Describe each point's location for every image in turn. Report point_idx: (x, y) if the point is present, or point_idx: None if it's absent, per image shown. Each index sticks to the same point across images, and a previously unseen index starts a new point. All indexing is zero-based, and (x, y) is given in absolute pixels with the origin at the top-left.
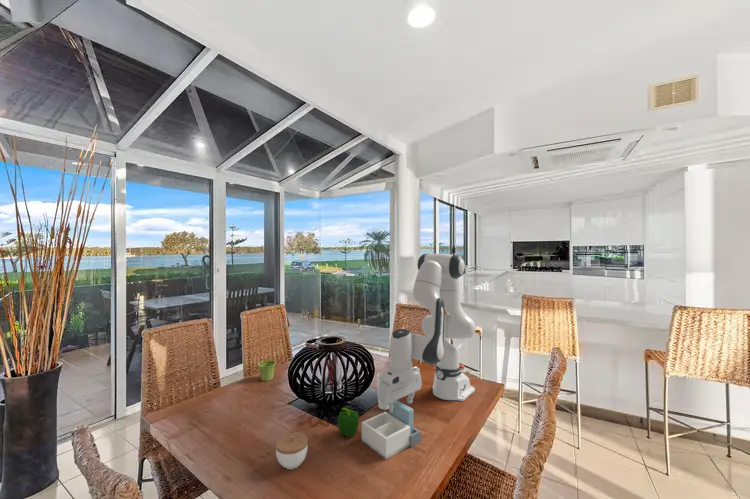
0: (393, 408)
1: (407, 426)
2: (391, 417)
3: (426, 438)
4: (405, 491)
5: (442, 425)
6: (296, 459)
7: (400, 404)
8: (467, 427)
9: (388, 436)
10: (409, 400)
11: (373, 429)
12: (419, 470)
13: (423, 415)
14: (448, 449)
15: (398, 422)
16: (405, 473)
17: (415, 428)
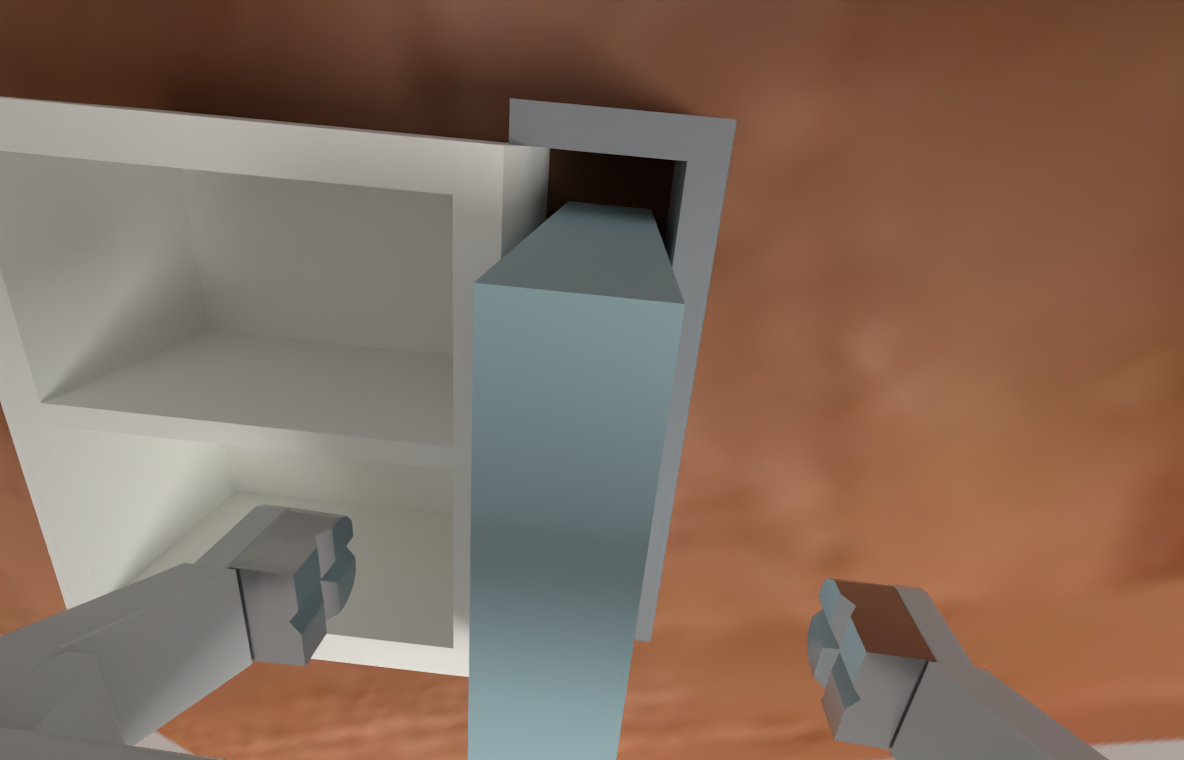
0: (259, 644)
1: (466, 652)
2: (454, 369)
3: (727, 568)
4: (169, 734)
5: (1045, 566)
6: None
7: (550, 621)
8: (1137, 723)
9: None
10: (832, 708)
11: (14, 395)
12: (365, 707)
13: (1161, 306)
14: (714, 738)
15: (457, 510)
16: (264, 665)
17: (652, 576)
